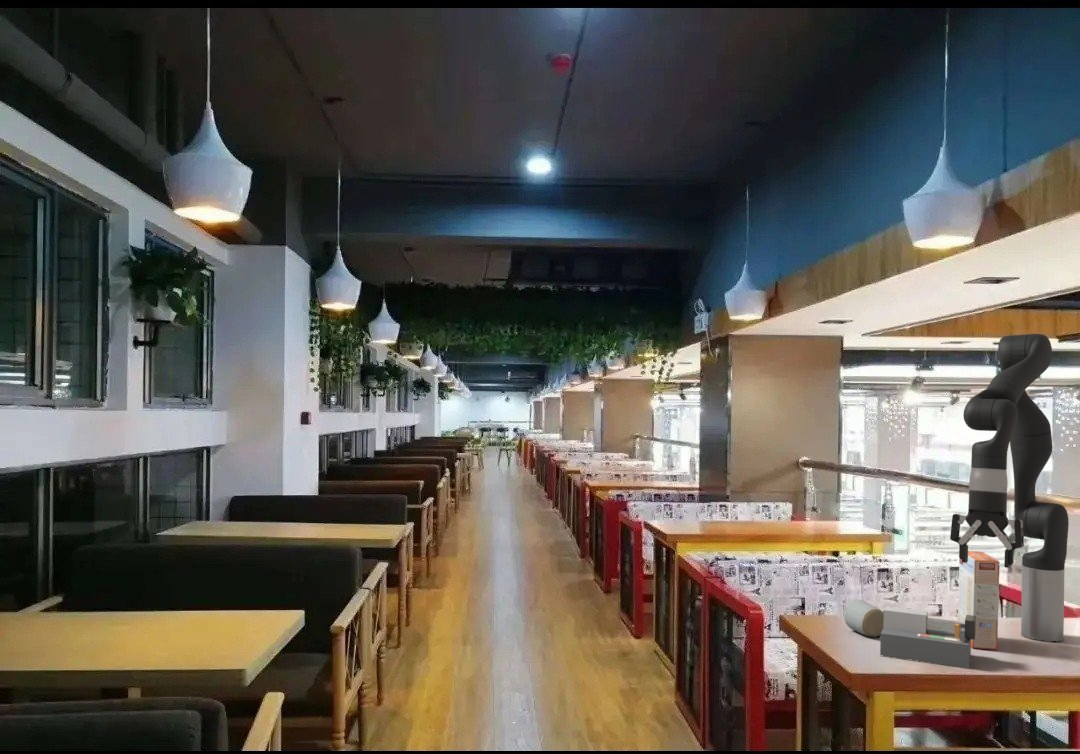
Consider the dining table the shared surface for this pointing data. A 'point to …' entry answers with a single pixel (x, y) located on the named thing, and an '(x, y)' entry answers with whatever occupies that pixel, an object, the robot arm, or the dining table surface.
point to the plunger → (965, 628)
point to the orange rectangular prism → (957, 631)
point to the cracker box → (980, 597)
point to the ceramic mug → (864, 618)
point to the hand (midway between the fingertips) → (985, 564)
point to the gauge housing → (921, 639)
